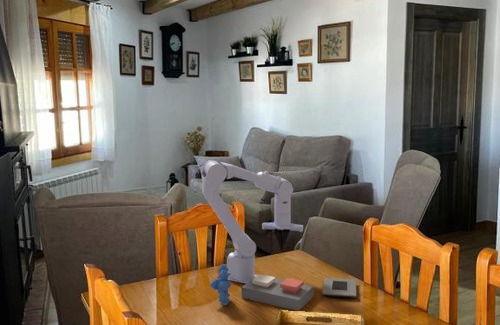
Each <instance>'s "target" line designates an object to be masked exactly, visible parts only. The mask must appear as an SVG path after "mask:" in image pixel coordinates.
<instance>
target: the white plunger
mask: <svg viewBox="0 0 500 325" xmlns="http://www.w3.org/2000/svg"><path fill="white" fill-rule="evenodd" d="M258 275H259V276H257V277H256V278H254V279H253V280H252V283H253V284H255V285H256V286H261V287H265V288H268V287H269V286H270V285H272V284H273V282H274V281H275V278H276V277H275V276H271V275H266V274H261V273H260V274H258Z"/></svg>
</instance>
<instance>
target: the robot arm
mask: <svg viewBox="0 0 500 325" xmlns="http://www.w3.org/2000/svg"><path fill="white" fill-rule="evenodd" d="M232 178H238V179H240V180H241V179H242V180H243V181H244V180H245V181H248V182H252V183H253V184H254V186H255V187H256V188H257V189H261V190H264V191H266V192H270V193H274V214H273V215H274V218H273V219H274V221H273V222H263V223H261V229H262V230H274V231H273V233H274V236H275V239H277V243H278V246H279V250H280V251H285V249H286V244H287V240H288V237H289V235H290V232H292V231H293V232H299V233H302V232H303V231H304V225H303V224H298V223H297V224H296V223H291V221H292V220H291V215H292V214H291V212H292V211H291V210H292V209H291V207H292V206H291V203H292V201H291V196H292V195H293V192H294V187H293V185H292V183H291V182H290V181H288V180H287V179H285V178H283V177H282V176H280V175H277V176H276V175H273V174H271V173H270V172H268V171H267V170H264V171H259V172H257V173H256V172H253V171H251V170H250V171H249V170H247V169H245V168H243V167H240V166H237V165H234V164H231V163H227V162H224V161H217V160H216V159H209V160H208V161H206V162H205V163H204V164H203V167H202V170H201V193H202V195H203V196H204V198H205V200H206V201H207V203H208V204H209V205H210V207H211V209H212V210H213V212H214V213H215V215H216V216H217V217H218V219H219V221H220V222H221V223H222V225H223V227H224V228H225V230H226V231H227V233H228V234H229V236H230V238H231V241H232V246H233V247H234V248H235V249H234V251H233V252H230V253H229V254H228V256H227V259H226V266H227V267H228V272H227V273H228V274H229V276H228V280H229V281H230V282H231V281H232V282H237V283H242V284H244V285H245V284H247V283H248V282H250V281H251V280H253V279H254V278H255V277H257V276H258V275H259V274H255V270H256V269H255V266H256V265H255V262H256V260H255V254H256V251H257V244H256V243H255V241H254V240H252V239H251V238H250V236H249V235H248V234H247V233H245V231H244V230H243V229H242V227H241V225H240V224H239V223H238V221H237V220H236V218H235V217H234V215H233V213H232V212H231V210H230V208H228V206H227V204H226V203H225V201H224V200H223V199H222V197H221V195H220V193H219V191H220V187H221V185H222V184H223V182H224V181H225V179H227V180H229V179H232Z"/></svg>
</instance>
